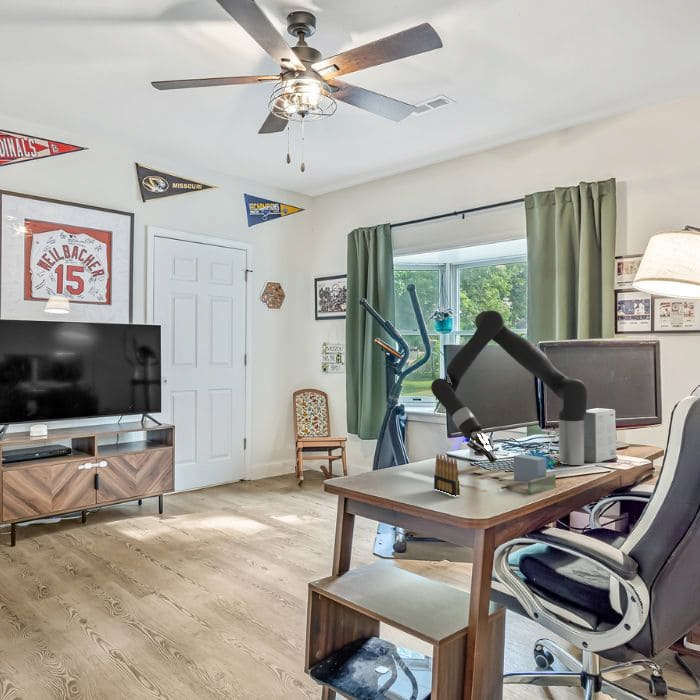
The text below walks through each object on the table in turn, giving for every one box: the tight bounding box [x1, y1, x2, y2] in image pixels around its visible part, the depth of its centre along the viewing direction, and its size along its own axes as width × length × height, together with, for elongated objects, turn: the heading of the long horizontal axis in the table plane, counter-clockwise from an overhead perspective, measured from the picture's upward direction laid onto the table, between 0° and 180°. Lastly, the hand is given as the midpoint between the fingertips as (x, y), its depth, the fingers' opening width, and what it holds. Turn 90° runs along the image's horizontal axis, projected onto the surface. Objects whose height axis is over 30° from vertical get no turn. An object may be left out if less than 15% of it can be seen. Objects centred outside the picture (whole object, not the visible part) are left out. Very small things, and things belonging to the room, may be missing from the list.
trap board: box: [458, 465, 557, 496], centre depth 193 cm, size 33×16×4 cm, turn 39°
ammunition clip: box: [433, 453, 461, 496], centre depth 177 cm, size 11×2×12 cm, turn 29°
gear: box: [527, 449, 557, 471], centre depth 207 cm, size 11×6×10 cm
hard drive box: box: [584, 407, 617, 464], centre depth 226 cm, size 16×8×20 cm, turn 126°
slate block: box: [513, 453, 547, 483], centre depth 186 cm, size 9×5×8 cm, turn 39°
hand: (494, 461), depth 197 cm, fingers closed
